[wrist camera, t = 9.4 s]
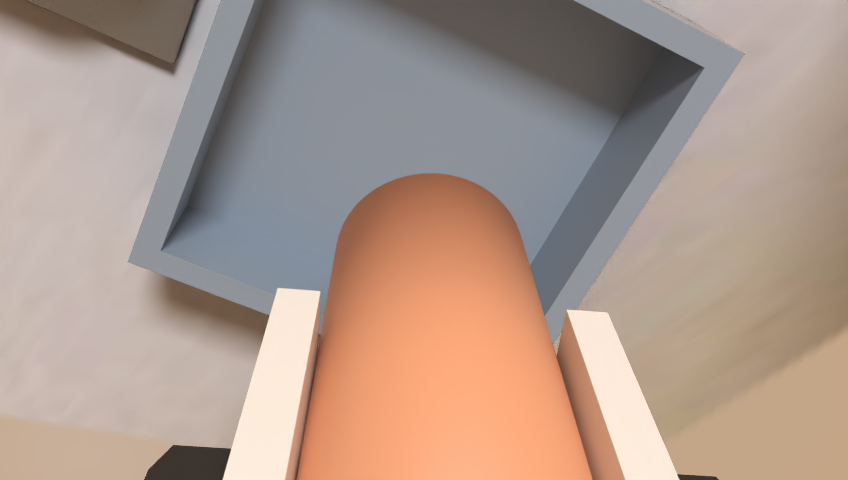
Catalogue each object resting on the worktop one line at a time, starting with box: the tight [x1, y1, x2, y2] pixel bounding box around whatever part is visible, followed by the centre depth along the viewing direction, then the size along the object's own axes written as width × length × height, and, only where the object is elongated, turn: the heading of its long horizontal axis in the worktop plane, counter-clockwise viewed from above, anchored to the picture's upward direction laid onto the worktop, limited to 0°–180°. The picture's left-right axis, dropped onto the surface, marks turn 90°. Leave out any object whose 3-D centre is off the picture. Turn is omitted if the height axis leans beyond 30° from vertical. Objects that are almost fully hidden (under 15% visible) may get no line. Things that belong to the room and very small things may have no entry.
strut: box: [296, 173, 593, 480], centre depth 13 cm, size 5×5×12 cm
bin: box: [128, 0, 744, 344], centre depth 25 cm, size 14×14×4 cm
